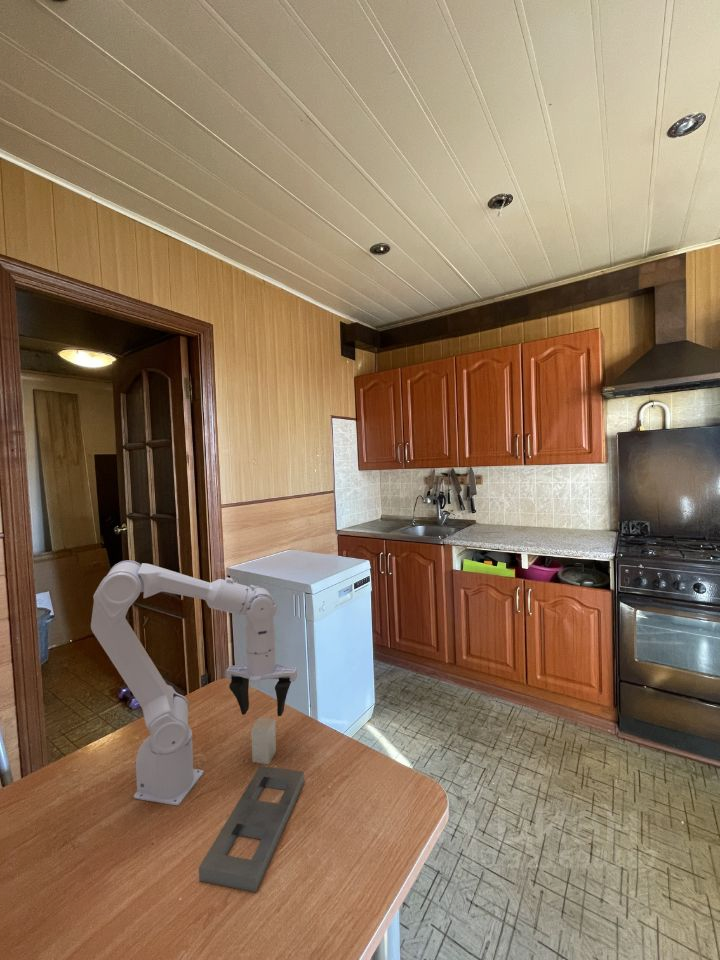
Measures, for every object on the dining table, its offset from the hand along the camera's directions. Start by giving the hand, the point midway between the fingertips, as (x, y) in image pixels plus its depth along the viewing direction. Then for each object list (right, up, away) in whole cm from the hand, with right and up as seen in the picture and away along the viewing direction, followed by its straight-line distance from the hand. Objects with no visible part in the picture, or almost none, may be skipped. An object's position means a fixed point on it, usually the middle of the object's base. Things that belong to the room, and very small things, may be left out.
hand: (263, 712), depth 82 cm
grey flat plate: (+3, -10, -16) cm, 19 cm away
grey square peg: (0, -9, 0) cm, 9 cm away
